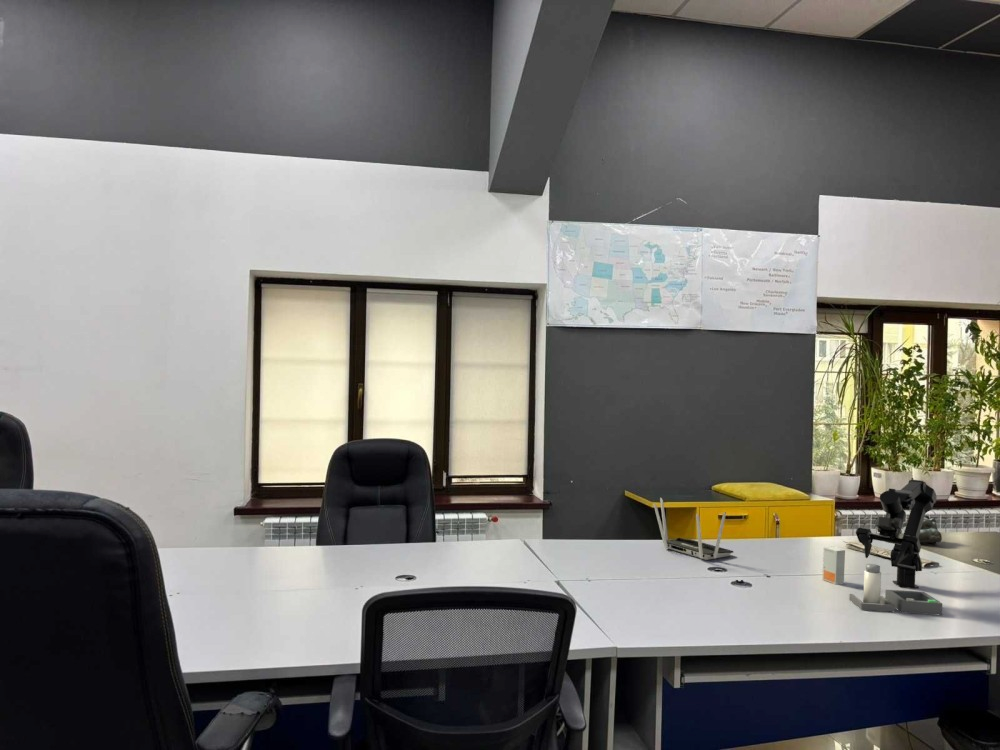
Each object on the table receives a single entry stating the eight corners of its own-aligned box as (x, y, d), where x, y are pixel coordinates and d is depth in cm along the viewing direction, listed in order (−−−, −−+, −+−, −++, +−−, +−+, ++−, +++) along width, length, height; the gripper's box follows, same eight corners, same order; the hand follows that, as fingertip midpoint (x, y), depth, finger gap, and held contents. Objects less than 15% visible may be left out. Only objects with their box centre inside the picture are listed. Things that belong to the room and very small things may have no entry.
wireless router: (745, 559, 285) (747, 509, 284) (706, 567, 272) (708, 514, 271) (680, 541, 312) (681, 495, 312) (642, 547, 299) (643, 499, 299)
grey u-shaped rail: (849, 599, 237) (849, 593, 237) (881, 601, 236) (881, 595, 236) (861, 609, 227) (861, 603, 227) (894, 611, 226) (894, 605, 226)
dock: (885, 600, 237) (885, 587, 237) (923, 602, 236) (924, 590, 236) (901, 612, 225) (901, 599, 225) (942, 615, 224) (942, 601, 224)
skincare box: (821, 579, 259) (823, 546, 259) (830, 578, 261) (831, 545, 261) (835, 584, 254) (836, 550, 254) (844, 583, 255) (845, 549, 255)
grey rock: (902, 543, 323) (896, 513, 329) (909, 550, 330) (903, 520, 337) (939, 539, 314) (932, 508, 321) (946, 546, 322) (939, 515, 328)
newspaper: (939, 567, 285) (939, 558, 285) (920, 570, 279) (920, 561, 279) (858, 546, 316) (858, 538, 316) (839, 549, 310) (839, 540, 310)
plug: (860, 602, 234) (862, 562, 234) (876, 603, 233) (877, 563, 233) (866, 607, 229) (868, 566, 229) (882, 608, 228) (884, 567, 228)
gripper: (858, 503, 247) (845, 540, 239) (919, 512, 234) (907, 551, 226) (865, 523, 252) (853, 560, 245) (925, 533, 239) (914, 572, 231)
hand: (881, 560), depth 236 cm, fingers open, 9 cm apart
